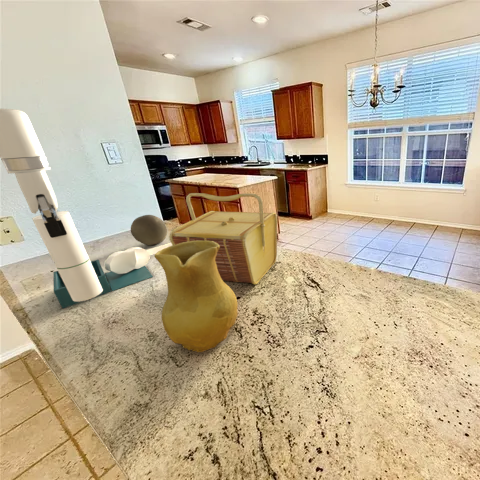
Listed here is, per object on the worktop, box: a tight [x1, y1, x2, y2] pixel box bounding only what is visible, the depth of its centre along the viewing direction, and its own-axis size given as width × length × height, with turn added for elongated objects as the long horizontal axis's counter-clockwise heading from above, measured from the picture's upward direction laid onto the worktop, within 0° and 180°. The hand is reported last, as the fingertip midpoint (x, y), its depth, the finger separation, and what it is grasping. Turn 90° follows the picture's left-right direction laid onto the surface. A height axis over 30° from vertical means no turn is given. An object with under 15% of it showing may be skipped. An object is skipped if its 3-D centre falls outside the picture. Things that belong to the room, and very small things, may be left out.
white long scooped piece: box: [103, 242, 172, 274], centre depth 112 cm, size 38×8×4 cm
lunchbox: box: [52, 259, 154, 309], centre depth 95 cm, size 25×18×7 cm
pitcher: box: [153, 240, 239, 353], centre depth 65 cm, size 17×19×25 cm
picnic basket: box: [168, 192, 278, 286], centre depth 94 cm, size 29×26×30 cm
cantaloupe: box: [130, 214, 168, 246], centre depth 126 cm, size 14×14×15 cm
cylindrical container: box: [31, 210, 103, 303], centre depth 74 cm, size 7×7×25 cm
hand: (58, 232), depth 71 cm, fingers closed on cylindrical container, 7 cm apart
